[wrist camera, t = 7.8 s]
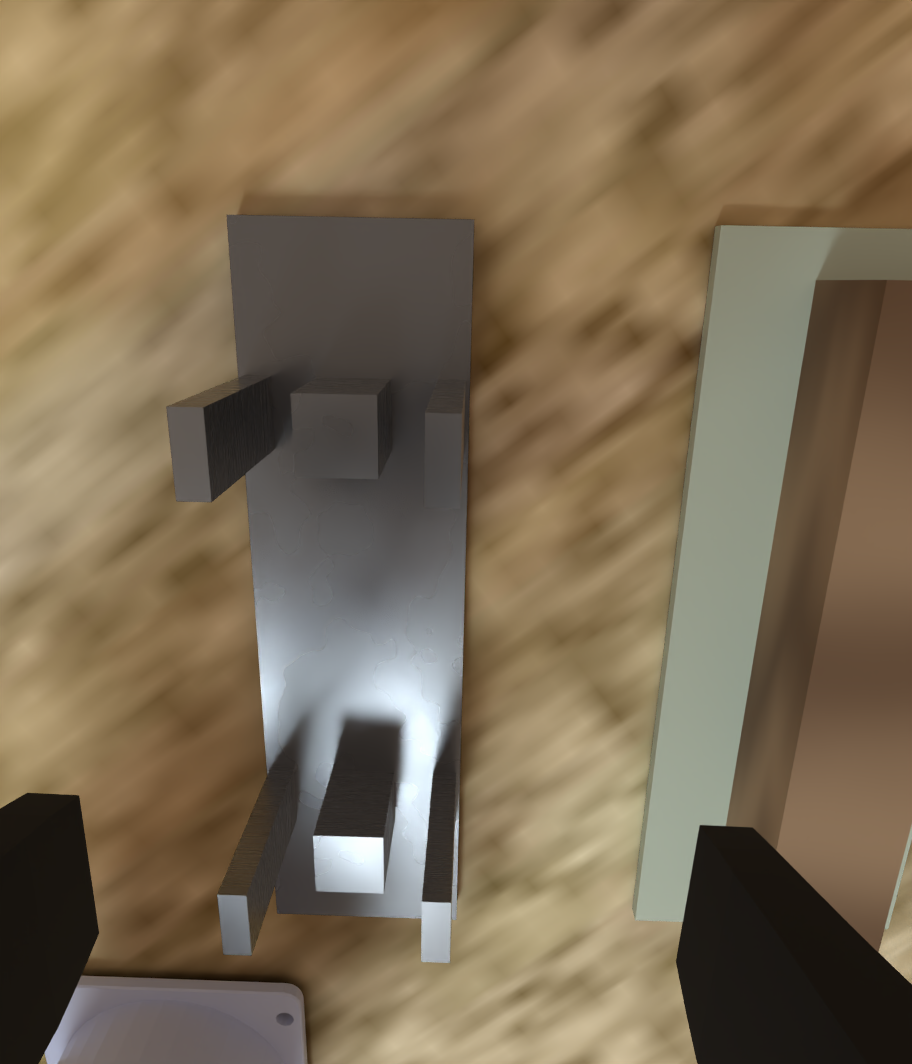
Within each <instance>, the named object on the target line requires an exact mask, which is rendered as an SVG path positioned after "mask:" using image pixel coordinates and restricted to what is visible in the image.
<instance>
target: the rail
mask: <svg viewBox="0 0 912 1064" xmlns="http://www.w3.org/2000/svg"><path fill="white" fill-rule="evenodd" d="M911 825H912V280H816V282H815V288H814V295H813V301H812V307H811V313H810V319H809V325H808V331H807V337H806V343H805V349H804V355H803V361H802V367H801V373H800V379H799V385H798V392H797V398H796V404H795V410H794V416H793V422H792V428H791V434H790V440H789V446H788V452H787V458H786V464H785V470H784V476H783V482H782V489H781V495H780V501H779V507H778V513H777V519H776V525H775V531H774V537H773V543H772V549H771V555H770V561H769V567H768V573H767V579H766V586H765V592H764V598H763V604H762V610H761V616H760V622H759V628H758V634H757V640H756V646H755V652H754V658H753V664H752V670H751V676H750V683H749V689H748V695H747V701H746V707H745V713H744V719H743V725H742V731H741V737H740V743H739V749H738V755H737V761H736V767H735V773H734V780H733V786H732V792H731V798H730V804H729V810H728V816H727V822H726V826H734V827H753V828H754V829H755V830H756V831H757V832H758V833H759V834H760V835H761V836H762V837H763V838H764V839H765V840H766V841H767V842H768V843H769V844H770V845H771V846H772V847H773V848H774V849H775V850H776V851H777V852H778V853H779V854H780V855H781V856H782V857H783V858H784V859H785V860H786V861H787V862H788V863H789V864H790V865H791V866H792V867H793V868H794V869H795V870H796V871H797V872H798V873H799V874H800V875H801V876H802V877H803V878H804V879H805V880H806V881H807V882H808V883H809V884H810V885H811V886H812V887H813V888H814V889H815V890H816V891H817V892H818V893H819V894H820V895H821V896H822V897H823V898H824V899H825V900H826V901H827V902H828V903H829V904H830V905H831V906H832V907H833V908H834V909H835V910H836V911H837V912H838V913H839V914H840V915H841V916H842V917H843V918H844V919H845V920H846V921H847V922H848V923H849V924H850V925H851V926H852V927H853V928H854V929H855V930H856V931H857V932H858V933H859V934H860V935H861V936H862V937H863V938H864V939H865V940H866V941H867V942H868V943H869V944H870V945H871V946H872V947H873V948H874V949H875V950H876V951H877V952H878V951H879V948H880V944H881V940H882V936H883V932H884V928H885V925H886V921H887V917H888V913H889V909H890V906H891V902H892V898H893V894H894V890H895V886H896V883H897V879H898V875H899V871H900V867H901V864H902V860H903V856H904V852H905V848H906V844H907V841H908V837H909V833H910V829H911Z"/></svg>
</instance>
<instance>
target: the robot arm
mask: <svg viewBox="0 0 912 1064" xmlns="http://www.w3.org/2000/svg"><path fill="white" fill-rule="evenodd" d="M98 934H99V930H98V923H97V916H96V909H95V902H94V895H93V888H92V881H91V875H90V868H89V861H88V854H87V847H86V840H85V833H84V826H83V819H82V812H81V806H80V799H79V795H59V794H38V793H26V794H25V795H23V796H21V797H19V798H18V799H16V800H14V801H13V802H11V803H9V804H7V805H6V806H4V807H2V808H1V809H0V1064H38V1063H39V1062H40V1060H41V1058H42V1056H43V1054H44V1053H45V1056H46V1061H47V1064H308V1063H307V1046H306V1030H305V1013H304V997H303V994H302V991H301V990H300V989H299V988H298V987H297V986H295V985H293V984H289V983H270V982H243V981H216V980H189V979H161V978H134V977H107V976H81V975H82V973H83V970H84V968H85V965H86V963H87V961H88V958H89V956H90V953H91V951H92V949H93V946H94V944H95V941H96V939H97V937H98ZM676 964H677V969H678V974H679V979H680V984H681V989H682V994H683V999H684V1004H685V1009H686V1014H687V1019H688V1023H689V1028H690V1033H691V1037H692V1042H693V1046H694V1051H695V1055H696V1060H697V1063H698V1064H912V984H911V983H909V982H908V981H907V980H906V979H905V978H904V977H903V976H902V975H901V974H900V973H899V972H898V971H897V970H896V969H895V968H894V967H893V966H892V965H891V964H890V963H889V962H888V961H887V960H886V959H885V958H883V957H882V956H881V955H880V954H879V953H878V952H877V951H876V950H875V949H874V948H873V947H872V946H871V945H870V944H869V943H868V942H867V941H866V940H865V939H864V938H863V937H862V936H861V935H860V934H859V933H858V932H857V931H856V930H855V929H854V928H853V927H852V926H851V925H850V924H849V923H848V922H847V921H846V920H845V919H844V918H843V917H842V916H841V915H840V914H839V913H838V912H837V911H836V910H835V909H834V908H833V907H832V906H831V905H830V904H829V903H828V902H827V901H826V900H825V899H824V898H823V897H822V896H821V895H820V894H819V893H818V892H817V891H816V890H815V889H814V888H813V887H812V886H811V885H810V884H809V883H808V882H807V881H806V880H805V879H804V878H803V877H802V876H801V875H800V874H799V873H798V872H797V871H796V870H795V869H794V868H793V867H792V866H791V865H790V864H789V863H788V862H787V861H786V860H785V859H784V858H783V857H782V856H781V855H780V854H779V853H778V852H777V851H776V850H775V849H774V848H773V847H772V846H771V845H770V844H769V843H768V842H767V841H766V840H765V839H764V838H763V837H762V836H761V835H760V834H759V833H758V832H757V831H756V830H755V829H754V828H753V827H734V826H712V825H700V826H699V831H698V837H697V843H696V849H695V855H694V860H693V866H692V872H691V878H690V884H689V889H688V895H687V901H686V907H685V912H684V918H683V924H682V930H681V936H680V941H679V947H678V953H677V959H676Z"/></svg>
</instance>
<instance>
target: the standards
mask: <svg viewBox="0 0 912 1064" xmlns="http://www.w3.org/2000/svg"><path fill="white" fill-rule="evenodd" d="M227 227H228V241H229V255H230V269H231V282H232V296H233V310H234V324H235V338H236V351H237V365H238V378H236V379H233V380H231V381H228V382H226V383H223V384H221V385H218V386H216V387H214V388H211V389H209V390H206V391H204V392H201V393H199V394H196V395H194V396H191V397H189V398H186V399H184V400H181V401H179V402H176V403H174V404H172V405H169V406H167V407H166V408H167V417H168V427H169V436H170V446H171V456H172V465H173V475H174V485H175V494H176V501H182V502H212V501H214V500H215V499H216V498H217V497H218V496H220V495H221V494H222V493H223V492H224V491H226V490H227V489H228V488H229V487H230V486H232V485H233V484H234V483H235V482H236V481H237V480H239V479H240V478H241V477H242V476H243V475H245V476H246V490H247V503H248V517H249V531H250V545H251V559H252V572H253V586H254V600H255V614H256V628H257V641H258V655H259V669H260V683H261V697H262V711H263V724H264V738H265V752H266V766H267V778H266V780H265V782H264V785H263V787H262V789H261V792H260V794H259V797H258V799H257V801H256V804H255V806H254V809H253V811H252V813H251V816H250V818H249V820H248V823H247V825H246V828H245V830H244V832H243V835H242V837H241V839H240V842H239V844H238V847H237V849H236V851H235V854H234V856H233V858H232V861H231V863H230V866H229V868H228V870H227V873H226V875H225V877H224V880H223V882H222V885H221V887H220V889H219V892H218V894H217V897H218V907H219V917H220V926H221V936H222V945H223V955H249V956H252V953H253V950H254V947H255V944H256V941H257V938H258V935H259V932H260V929H261V926H262V923H263V920H264V917H265V914H266V911H267V908H268V905H269V902H270V899H271V896H272V893H273V890H274V887H275V890H276V904H277V913H278V914H307V915H335V916H363V917H392V918H420V919H422V942H421V962H442V963H450V944H451V920H456V911H457V873H458V834H459V795H460V756H461V717H462V678H463V639H464V600H465V560H466V521H467V482H468V443H469V404H470V365H471V326H472V287H473V248H474V220H468V219H417V218H366V217H315V216H264V215H227Z"/></svg>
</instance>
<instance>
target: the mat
mask: <svg viewBox="0 0 912 1064" xmlns="http://www.w3.org/2000/svg"><path fill="white" fill-rule="evenodd" d="M816 280H912V229H888V228H837V227H786V226H735V225H720V226H716V227H715V233H714V241H713V249H712V257H711V266H710V274H709V282H708V290H707V299H706V307H705V315H704V323H703V331H702V340H701V348H700V356H699V364H698V373H697V381H696V389H695V397H694V406H693V414H692V422H691V430H690V439H689V447H688V455H687V463H686V471H685V480H684V488H683V496H682V504H681V513H680V521H679V529H678V537H677V546H676V554H675V562H674V570H673V579H672V587H671V595H670V603H669V611H668V620H667V628H666V636H665V644H664V653H663V661H662V669H661V677H660V686H659V694H658V702H657V710H656V719H655V727H654V735H653V743H652V751H651V760H650V768H649V776H648V784H647V793H646V801H645V809H644V817H643V826H642V834H641V842H640V850H639V859H638V867H637V875H636V883H635V891H634V900H633V908H632V909H633V913H634V917H635V920H643V921H671V922H683V918H684V912H685V907H686V901H687V895H688V889H689V884H690V878H691V872H692V866H693V860H694V855H695V849H696V843H697V837H698V831H699V826H700V825H712V826H726V822H727V816H728V810H729V804H730V798H731V792H732V786H733V780H734V773H735V767H736V761H737V755H738V749H739V743H740V737H741V731H742V725H743V719H744V713H745V707H746V701H747V695H748V689H749V683H750V676H751V670H752V664H753V658H754V652H755V646H756V640H757V634H758V628H759V622H760V616H761V610H762V604H763V598H764V592H765V586H766V579H767V573H768V567H769V561H770V555H771V549H772V543H773V537H774V531H775V525H776V519H777V513H778V507H779V501H780V495H781V489H782V482H783V476H784V470H785V464H786V458H787V452H788V446H789V440H790V434H791V428H792V422H793V416H794V410H795V404H796V398H797V392H798V385H799V379H800V373H801V367H802V361H803V355H804V349H805V343H806V337H807V331H808V325H809V319H810V313H811V307H812V301H813V295H814V288H815V282H816ZM911 840H912V825H911V829H910V833H909V837H908V841H907V844H906V848H905V852H904V856H903V860H902V864H901V867H900V871H899V875H898V879H897V883H896V886H895V890H894V894H893V898H892V902H891V906H890V909H889V913H888V917H887V921H886V925H885V928H884V929H888V927H889V924H890V920H891V916H892V912H893V908H894V905H895V901H896V897H897V893H898V889H899V886H900V882H901V878H902V874H903V870H904V867H905V863H906V859H907V855H908V852H909V848H910V844H911Z"/></svg>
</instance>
